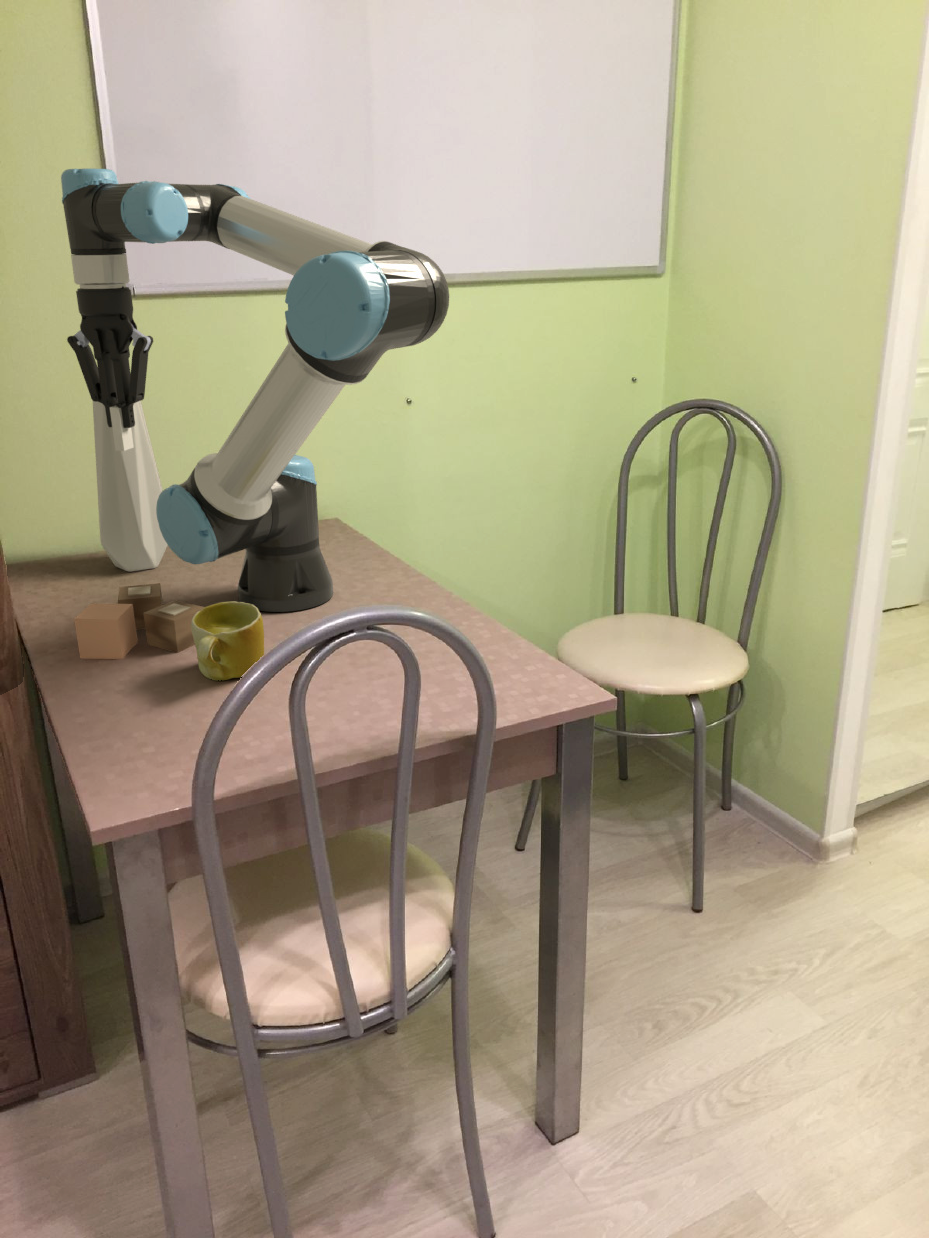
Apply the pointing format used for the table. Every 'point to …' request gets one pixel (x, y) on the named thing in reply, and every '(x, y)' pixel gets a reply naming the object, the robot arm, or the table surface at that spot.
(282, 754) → the table surface
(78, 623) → the plain block
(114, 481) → the vase
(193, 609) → the walnut block
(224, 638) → the mug
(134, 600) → the walnut block
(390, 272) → the robot arm
